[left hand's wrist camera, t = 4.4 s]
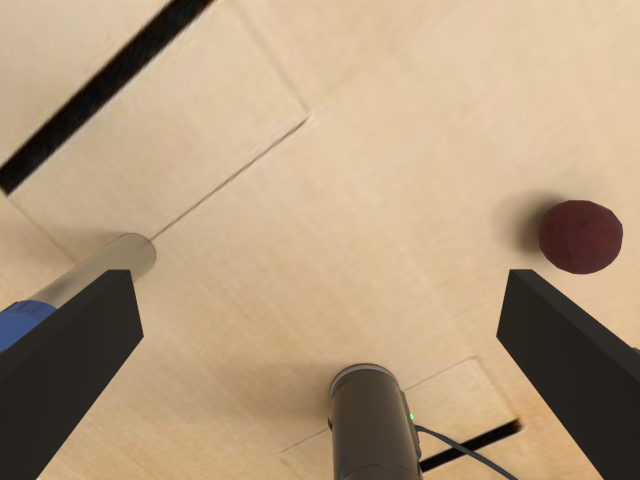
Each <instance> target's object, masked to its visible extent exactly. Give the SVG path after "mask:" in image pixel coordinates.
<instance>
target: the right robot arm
mask: <svg viewBox="0 0 640 480" xmlns="http://www.w3.org/2000/svg"><path fill="white" fill-rule="evenodd" d="M330 400H331V411H332V424H331V422H330V420H329V418H328V425H329V427H330V429H331V431H332V440H333V467H334V480H424V478H423V475H422V471H421V468H420V464H419V459H420V458H421V450H420V446H419V443H420V442H419V439H418V433H417V432H418V431H422V432H426V433H429V434H431V435H433V436H435V437H437V438H439V439H441V440H442V441H444V442H446V443H447V444H449V445H451V446H453V447H454V448H456V449H458V450H460V451H462V452H464V453H466V454H468V455H470V456H472V457H473V458H475V459H477V460H479V461H481V462H483V463H484V464H486V465H488V466H489V467H491V468H493V469H494V470H496V471H497V472H499V473H500V474H502V475H504V476H505V477H507V478H508V479H509V480H518V479H516V478H515V477H513V476H512V475H511V474H509V473H508V472H506V471H505V470H503V469H502V468H500V467H499V466H497V465H495V464H494V463H492V462H491V461H489V460H487V459H486V458H484V457H482V456H480V455H479V454H477V453H475V452H473V451H471V450H469V449H467V448H465V447H463V446H461V445H459V444H458V443H456V442H454V441H452V440H451V439H449V438H447V437H445V436H443V435H441V434H438V433H436V432H433V431H430V430H428V429H426V428H424V427H421V426H415V425H414V424H413V422H412V418H413V416H412V415H411V414H410V412H409V408H408V405H407V401H406V398H405V394H404V393H403V392H402V391H400V388H399V385H398V382H397V380H396V378H395V377H394V375H393V374H392V373H391V372H389V371H388V370H386V369H385V368H382V367H380V366H376V365H371V364H361V365H356V366H352V367H350V368H347V369H346V370H344V371H342V372H341V373H340V374H339V375H338V376H337V377H336V378H335V379H334V381H333V383H332V385H331V388H330Z"/></svg>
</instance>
